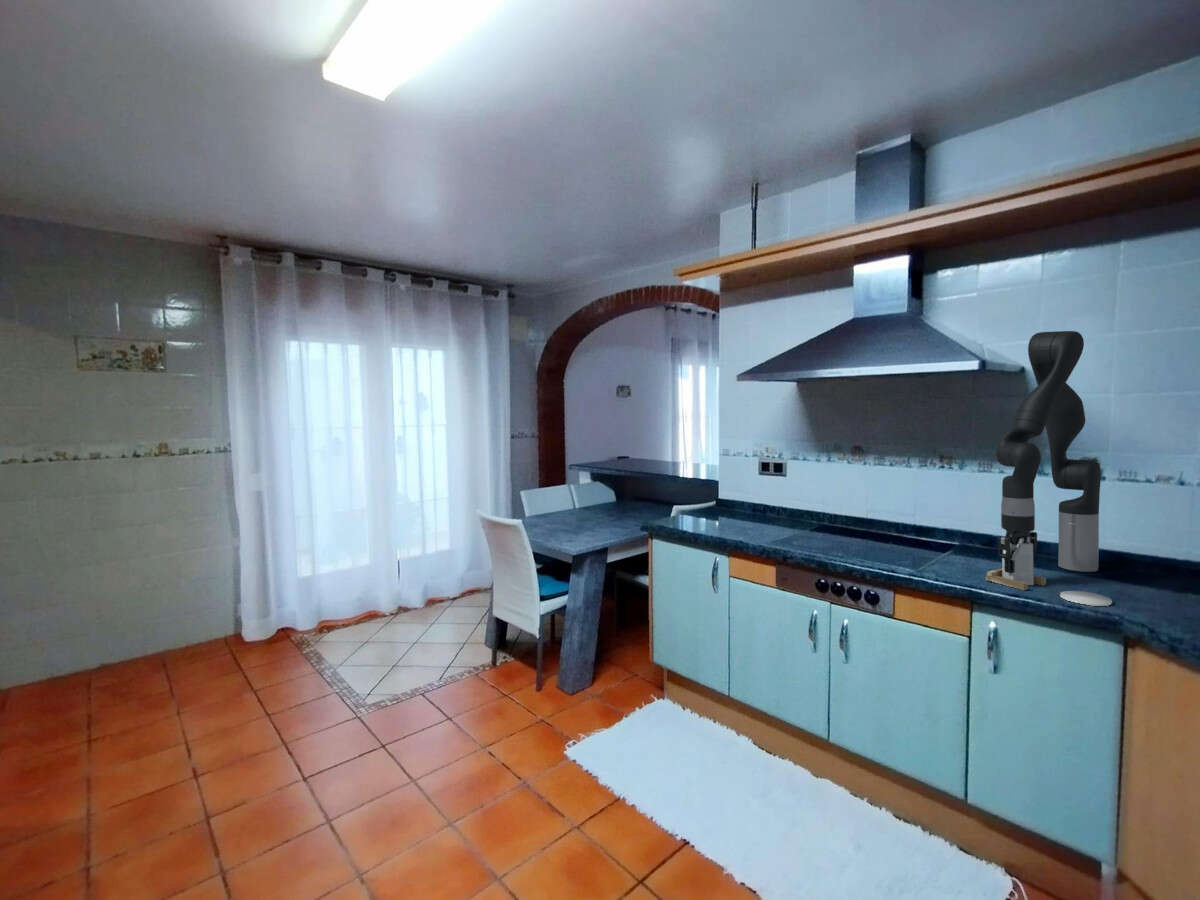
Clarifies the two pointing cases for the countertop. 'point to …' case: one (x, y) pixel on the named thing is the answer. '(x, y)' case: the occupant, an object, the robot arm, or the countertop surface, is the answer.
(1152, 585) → the countertop surface
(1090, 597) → the coaster
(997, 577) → the rack
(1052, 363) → the robot arm
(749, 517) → the countertop surface
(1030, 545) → the skincare box
